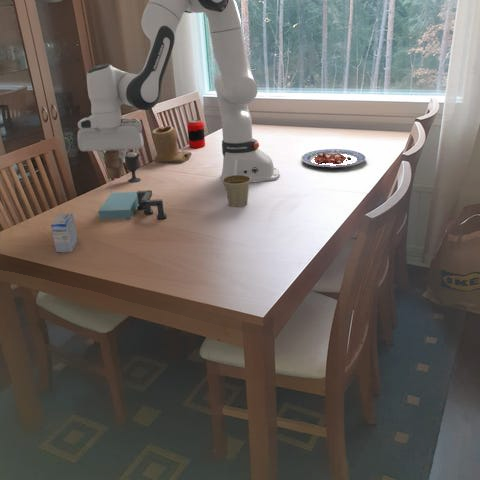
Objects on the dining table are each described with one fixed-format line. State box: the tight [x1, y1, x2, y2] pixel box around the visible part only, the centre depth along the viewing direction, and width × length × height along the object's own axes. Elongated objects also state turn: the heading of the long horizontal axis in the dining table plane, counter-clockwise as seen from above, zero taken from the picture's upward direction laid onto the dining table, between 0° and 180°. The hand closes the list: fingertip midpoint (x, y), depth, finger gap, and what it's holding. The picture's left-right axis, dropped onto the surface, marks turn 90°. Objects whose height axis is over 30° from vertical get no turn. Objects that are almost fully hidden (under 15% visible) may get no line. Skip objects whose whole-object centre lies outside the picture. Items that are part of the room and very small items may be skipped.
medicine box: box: [50, 213, 79, 253], centre depth 144 cm, size 8×4×9 cm, turn 5°
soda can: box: [186, 119, 206, 150], centre depth 240 cm, size 8×8×12 cm
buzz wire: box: [136, 189, 167, 221], centre depth 165 cm, size 11×12×6 cm
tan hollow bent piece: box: [151, 125, 192, 163], centre depth 219 cm, size 15×12×15 cm
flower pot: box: [221, 175, 251, 208], centre depth 169 cm, size 9×9×9 cm
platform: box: [97, 191, 139, 221], centre depth 171 cm, size 10×17×3 cm, turn 179°
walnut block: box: [103, 150, 125, 179], centre depth 164 cm, size 4×6×8 cm, turn 179°
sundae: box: [125, 149, 142, 183], centre depth 196 cm, size 7×7×15 cm
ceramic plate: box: [300, 148, 367, 168], centre depth 209 cm, size 26×26×3 cm
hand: (114, 163), depth 164 cm, fingers closed on walnut block, 4 cm apart
